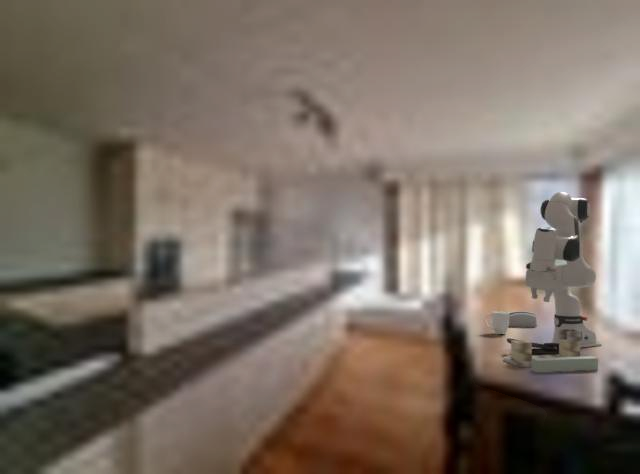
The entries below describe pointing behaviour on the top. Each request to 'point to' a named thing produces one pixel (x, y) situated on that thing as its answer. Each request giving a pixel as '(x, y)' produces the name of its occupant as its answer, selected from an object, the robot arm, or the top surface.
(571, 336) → the rail posts
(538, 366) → the rail
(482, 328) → the top surface
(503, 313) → the mug
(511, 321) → the grey curved block
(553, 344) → the zipper pull
